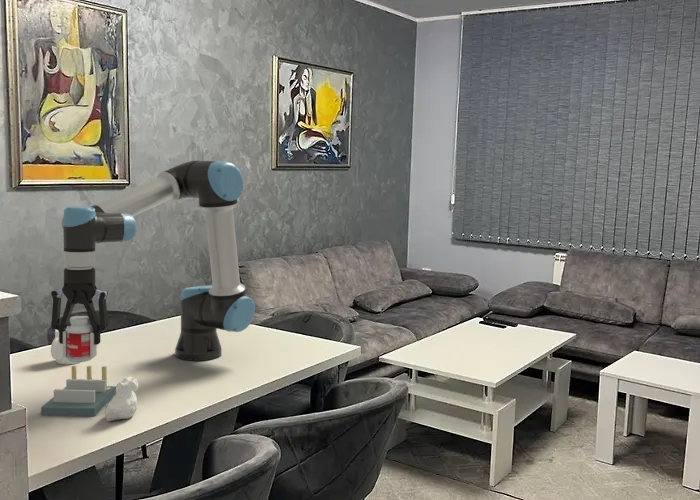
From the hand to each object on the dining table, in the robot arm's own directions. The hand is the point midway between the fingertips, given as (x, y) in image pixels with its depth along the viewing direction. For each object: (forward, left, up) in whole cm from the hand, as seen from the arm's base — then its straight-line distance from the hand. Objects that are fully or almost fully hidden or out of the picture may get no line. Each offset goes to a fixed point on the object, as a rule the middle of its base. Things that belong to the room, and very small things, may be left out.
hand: (79, 356), depth 180 cm
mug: (+17, -38, -13) cm, 44 cm away
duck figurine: (-14, +9, -13) cm, 21 cm away
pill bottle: (0, 0, -1) cm, 1 cm away
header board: (0, 0, -13) cm, 13 cm away
